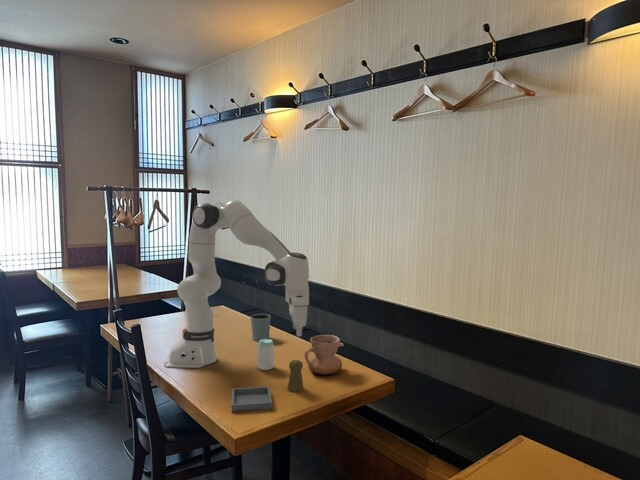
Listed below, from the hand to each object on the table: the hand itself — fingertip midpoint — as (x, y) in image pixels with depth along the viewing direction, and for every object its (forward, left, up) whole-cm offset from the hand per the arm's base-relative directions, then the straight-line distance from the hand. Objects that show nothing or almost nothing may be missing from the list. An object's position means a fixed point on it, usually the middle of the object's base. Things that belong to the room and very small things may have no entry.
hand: (297, 332), depth 169 cm
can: (-10, +23, -22) cm, 33 cm away
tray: (-17, -9, -22) cm, 30 cm away
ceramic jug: (+14, +16, -22) cm, 30 cm away
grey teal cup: (-10, +64, -22) cm, 68 cm away
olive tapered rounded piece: (0, 0, -22) cm, 22 cm away
